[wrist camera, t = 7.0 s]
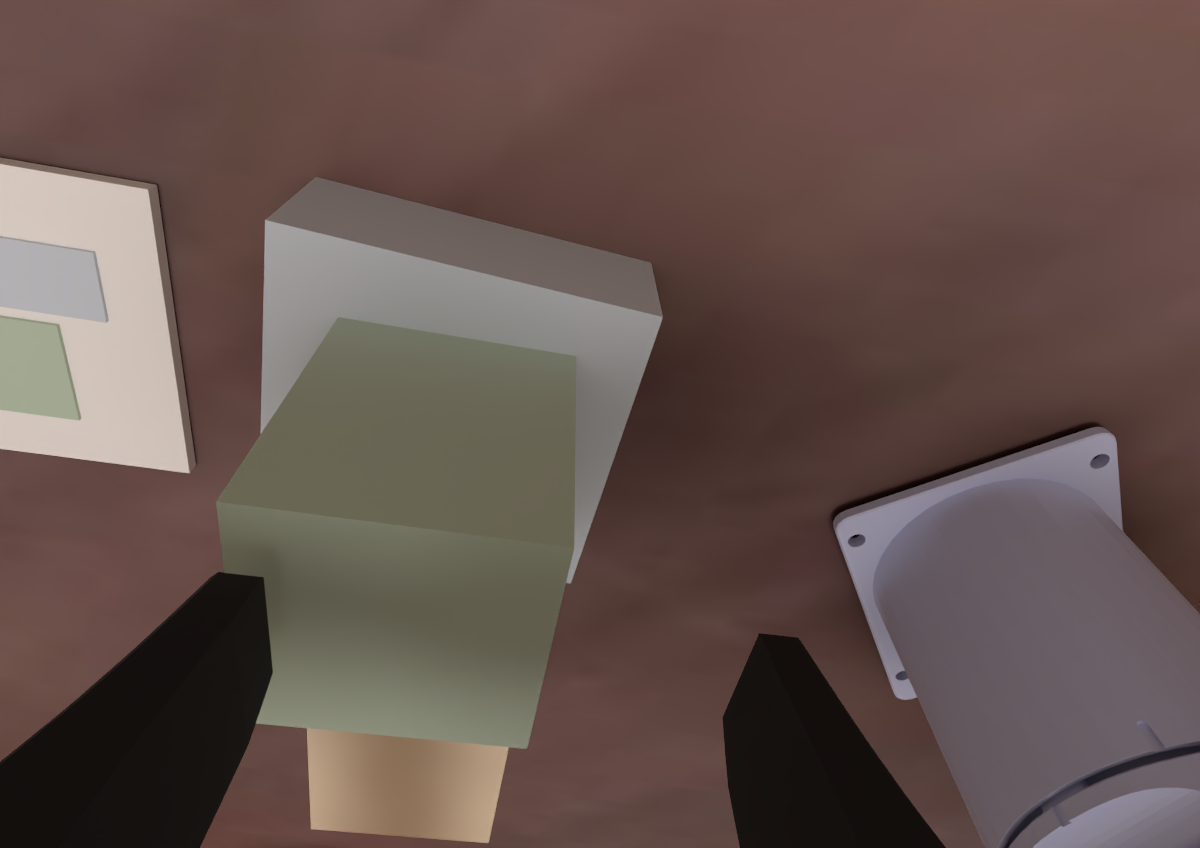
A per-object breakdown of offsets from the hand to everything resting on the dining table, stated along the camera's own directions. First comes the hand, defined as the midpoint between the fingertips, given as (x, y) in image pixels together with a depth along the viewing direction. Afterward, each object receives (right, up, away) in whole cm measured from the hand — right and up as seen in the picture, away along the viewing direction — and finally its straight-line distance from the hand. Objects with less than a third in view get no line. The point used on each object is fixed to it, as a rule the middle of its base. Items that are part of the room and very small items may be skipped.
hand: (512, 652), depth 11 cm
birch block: (-4, -3, +14) cm, 15 cm away
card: (-13, +6, +7) cm, 17 cm away
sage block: (-2, +3, +6) cm, 7 cm away
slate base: (-2, +5, +9) cm, 10 cm away
